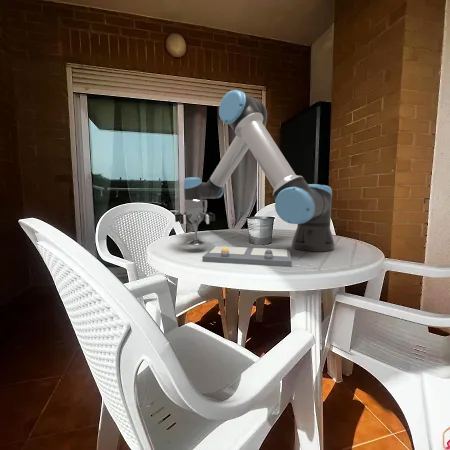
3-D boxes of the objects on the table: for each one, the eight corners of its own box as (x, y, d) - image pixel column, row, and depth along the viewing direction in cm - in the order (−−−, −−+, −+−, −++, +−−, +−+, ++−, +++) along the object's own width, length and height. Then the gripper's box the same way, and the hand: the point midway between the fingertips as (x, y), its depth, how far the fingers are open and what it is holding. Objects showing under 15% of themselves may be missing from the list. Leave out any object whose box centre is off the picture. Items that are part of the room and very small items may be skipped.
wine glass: (182, 244, 91) (181, 200, 89) (187, 240, 99) (186, 199, 97) (205, 244, 91) (205, 200, 89) (208, 240, 99) (208, 199, 97)
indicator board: (289, 254, 90) (289, 242, 90) (291, 266, 76) (291, 252, 75) (214, 250, 95) (214, 239, 95) (202, 261, 81) (202, 248, 80)
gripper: (217, 223, 113) (226, 230, 91) (169, 224, 110) (166, 232, 88) (217, 205, 113) (225, 208, 90) (169, 205, 110) (165, 209, 87)
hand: (196, 220), depth 89 cm, fingers closed on wine glass, 7 cm apart
